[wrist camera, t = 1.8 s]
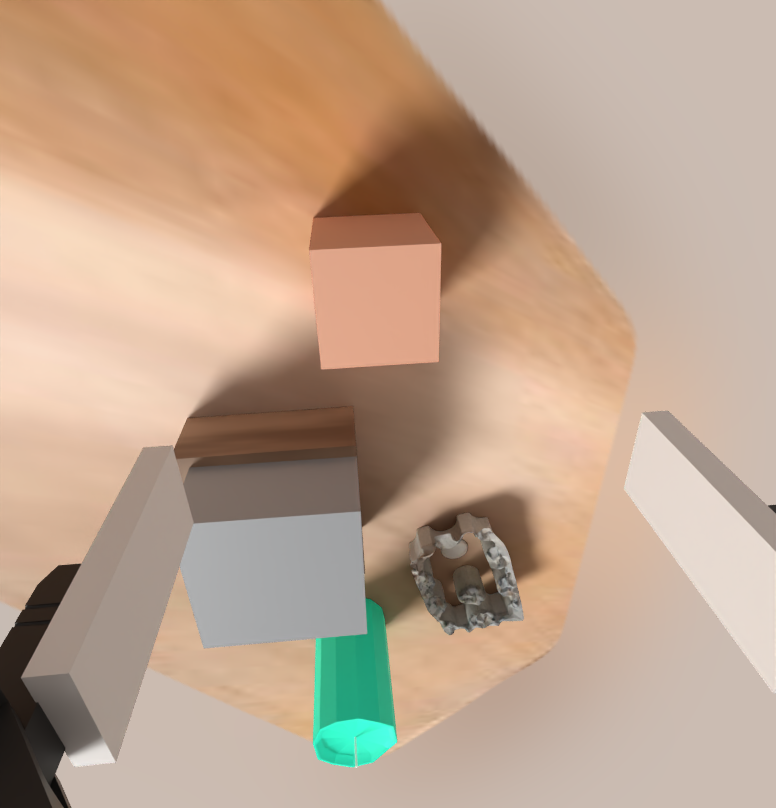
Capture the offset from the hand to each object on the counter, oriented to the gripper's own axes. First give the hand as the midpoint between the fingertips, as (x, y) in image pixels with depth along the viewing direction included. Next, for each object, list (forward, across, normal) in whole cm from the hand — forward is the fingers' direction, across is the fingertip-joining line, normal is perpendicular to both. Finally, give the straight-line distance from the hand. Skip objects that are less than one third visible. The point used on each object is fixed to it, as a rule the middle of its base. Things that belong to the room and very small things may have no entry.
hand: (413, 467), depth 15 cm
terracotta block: (+19, 0, 0) cm, 19 cm away
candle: (+20, -3, -31) cm, 37 cm away
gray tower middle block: (+15, -7, -15) cm, 22 cm away
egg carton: (+20, +6, -25) cm, 32 cm away
